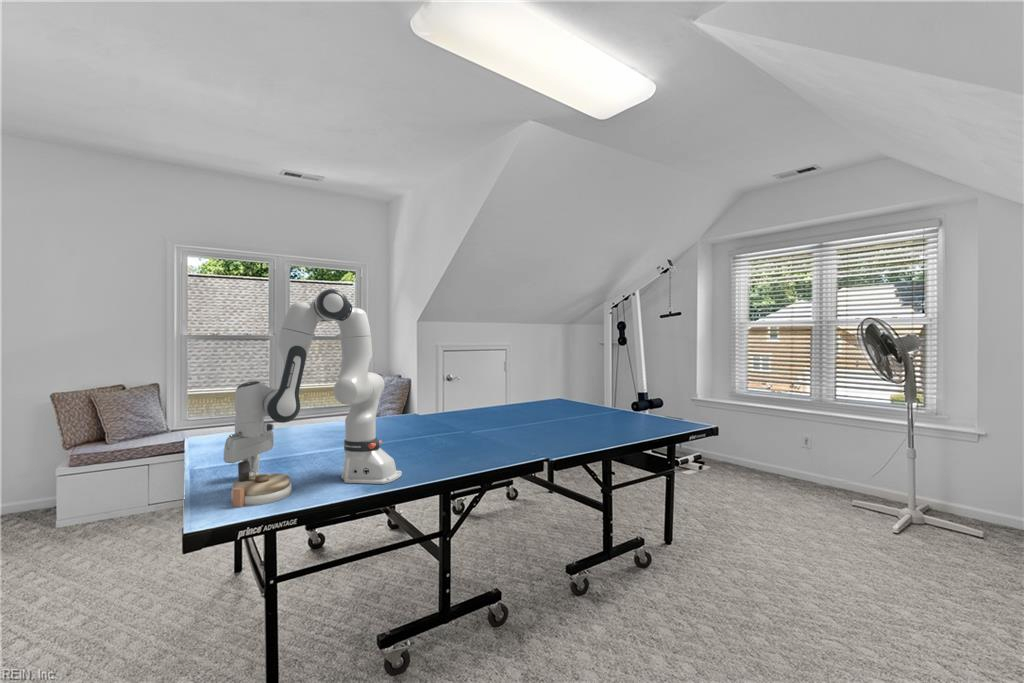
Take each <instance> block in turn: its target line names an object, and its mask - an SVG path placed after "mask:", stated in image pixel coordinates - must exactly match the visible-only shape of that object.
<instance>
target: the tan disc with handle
mask: <svg viewBox="0 0 1024 683" xmlns="http://www.w3.org/2000/svg"><path fill="white" fill-rule="evenodd" d="M237 466H238V468H237V470H238V472H237V476H238V478H237V480H236V481H235V482H233V484H232V489H234V488H236V487H237V488H244V495H248V496H250V495H263V494H269V493H273V492H277V491H280V490H283V489H285V488H287V487H288V486H289V485H290V482H291V476H289V475H287V474H283V473H263V474H262V473H261V474H260V473H259V474H260V475H254V476H249V462H248V461H243V462H241V461H239V462H237Z"/></svg>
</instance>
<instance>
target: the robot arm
mask: <svg viewBox="0 0 1024 683" xmlns="http://www.w3.org/2000/svg"><path fill="white" fill-rule="evenodd" d="M333 321H335V323H337V325H338V329H339V333H340V334H339V335H340V347H341V348H340V349H341V364H340V365H341V366H340V369H339V370H340V371H339V376H338V379H337V381H336V382H335V383H334V386H333V396H334V399H335V400H336V401H337V402H338V403H340V404H341V405H347V406H348V405H349V406H350V408H349V411H348V413H347V415H346V416H345V420H344V421H345V422H344V427H345V428H344V430H345V435H344V436H345V438H344V440H343V442H344V443H343V446H344V447H343V449H344V450H343V451H344V461H343V467H342V471H341V475H340V477H341V479H342V480H343V482H344V483H346V484H371V485H372V484H374V485H375V484H376V485H379V484H380V485H381V484H382V485H384V484H388V483H391V482H394V481H396V480H398V479H399V478H400V477H401V476H402V473H403V472H402V471H401V470H397V467H396V463H395V460H394V458H393V457H392V456H390V454H388V453H387V452H386V451H385V450H383V448H381V445H380V444H382V443H383V442H382V441H383V439H380V440H379V439H378V438H377V437H376V432H377V428H376V427H377V426H376V422H377V413H378V407H379V404H380V399H381V396H382V394H383V393H384V390H385V386H386V385H385V381H384V378H383V376H381V375H380V374H378V373H376V372H371V371H369V367H370V363H371V360H372V359H373V355H374V354H373V346H372V344H373V343H372V334H371V327H370V326H371V325H370V322H369V317H368V315H367V313H366V311H365V310H363V309H362V308H359V307H353V305H352V304H351V302H350V301H349V300H348V298H347V296H346V295H345V294H344V293H343V292H342V291H340V290H338V289H333V288H329V289H325V290H323V291H322V292H320V293H319V294H318V295H317V296H315V299H314V300H312V302H305V301H297V302H294V303H292V304H291V305H290V307H289V309H288V310H287V312H286V314H285V316H284V319H283V322H282V325H281V327H280V330H279V334H278V342H277V348H278V350H279V351H280V354H281V356H282V358H283V359H282V360H283V370H282V373H281V378H280V383H279V387H278V388H275V387H271V386H269V385H266V384H264V383H262V382H261V381H259V380H255V381H253V380H252V381H248V382H244V383H241V384H239V385H238V386H237V387H236V389H235V393H234V403H233V404H234V411H235V419H234V433H233V434H232V433H231V434H229V435H228V437H227V438H226V440H225V444H224V448H223V461H224V463H226V464H236V463H239V462H241V460H243V461H248V462H249V470H251V469H253V468H254V463H255V461H256V459H257V455H258V454H260V453H261V454H263V453H265V452H268V451H271V450H272V449H273V447H274V445H275V441H274V439H275V437H274V436H275V435H274V431H273V430H274V428H275V425H274V424H273V423H268V422H265V417H269V418H271V420H272V421H274V422H276V423H279V424H280V423H281V424H284V423H290V421H293V420H294V419H295V418H296V417H297V416H299V415H298V414H299V413H300V411H301V400H300V389H301V384H302V380H303V379H302V378H303V374H304V371H305V370H304V369H305V366H306V365H305V364H306V361H307V357H308V353H309V351H310V348H311V345H312V342H313V339H314V335H315V331H316V328H317V326H318V324H319V323H320V322H333ZM261 454H260V455H261Z"/></svg>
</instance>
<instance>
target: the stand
mask: <svg viewBox="0 0 1024 683" xmlns="http://www.w3.org/2000/svg"><path fill="white" fill-rule="evenodd" d="M230 494H231V495H230V498H231V499H230V501H231V502H232V507H236V508H241V507H244V506H260V505H267V504H271V503H275V502H279V501H282V500H285V499H286V498H288V497H289V496H291V494H292V483H291V481H290V485H289V486H288V487H287V488H285V489H283V490H280V491H277V492H273V493H269V494H263V495H250V496H248V495H244V488H237V487H236V488H234V489H233V488H232V489H231V491H230Z"/></svg>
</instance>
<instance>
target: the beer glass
mask: <svg viewBox="0 0 1024 683" xmlns="http://www.w3.org/2000/svg"><path fill="white" fill-rule="evenodd" d="M261 454H262V453H260V454H258V455H257V459H256V461H255V463H254V468H253V469H251V470H249V476H254V475H260V468H259V465H260V459H261ZM240 462H243V460H241V461H240Z"/></svg>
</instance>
